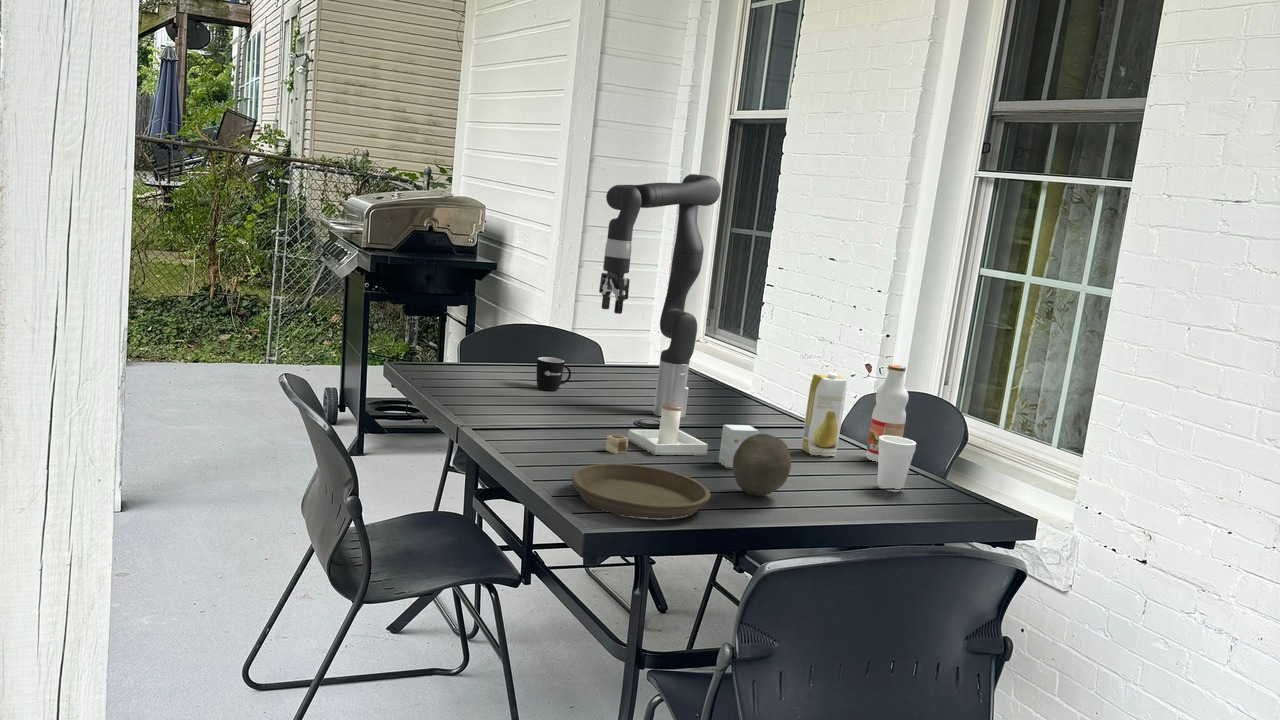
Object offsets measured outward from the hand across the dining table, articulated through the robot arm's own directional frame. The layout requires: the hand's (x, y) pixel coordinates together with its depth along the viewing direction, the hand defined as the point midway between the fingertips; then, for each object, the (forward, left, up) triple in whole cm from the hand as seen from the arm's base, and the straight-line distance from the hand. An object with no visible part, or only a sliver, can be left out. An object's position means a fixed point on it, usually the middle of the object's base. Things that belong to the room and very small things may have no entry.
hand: (611, 311), depth 296 cm
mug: (-3, -43, -33) cm, 54 cm away
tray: (-7, +29, -33) cm, 44 cm away
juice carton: (-53, +37, -33) cm, 73 cm away
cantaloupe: (-8, +72, -33) cm, 80 cm away
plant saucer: (+24, +72, -33) cm, 83 cm away
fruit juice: (-70, +45, -33) cm, 90 cm away
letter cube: (+10, +32, -33) cm, 47 cm away
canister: (-7, +29, -32) cm, 44 cm away
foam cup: (-51, +70, -33) cm, 93 cm away
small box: (-18, +47, -33) cm, 60 cm away
